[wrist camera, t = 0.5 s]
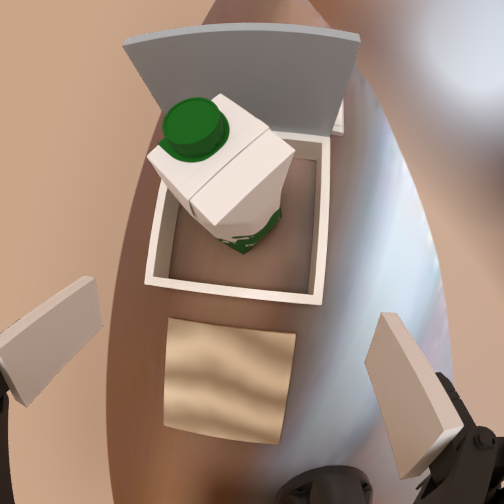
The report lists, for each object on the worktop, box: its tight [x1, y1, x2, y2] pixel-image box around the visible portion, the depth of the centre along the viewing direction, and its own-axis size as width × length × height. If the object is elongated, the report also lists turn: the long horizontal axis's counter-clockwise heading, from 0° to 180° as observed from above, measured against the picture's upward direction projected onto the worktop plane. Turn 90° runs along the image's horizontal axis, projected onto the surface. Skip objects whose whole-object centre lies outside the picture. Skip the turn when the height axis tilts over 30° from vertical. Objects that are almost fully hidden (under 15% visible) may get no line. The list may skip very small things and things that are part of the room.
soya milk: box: [147, 94, 295, 254], centre depth 26 cm, size 9×9×20 cm
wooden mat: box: [164, 317, 296, 445], centre depth 33 cm, size 16×16×1 cm
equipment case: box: [123, 23, 361, 305], centre depth 26 cm, size 27×20×21 cm
